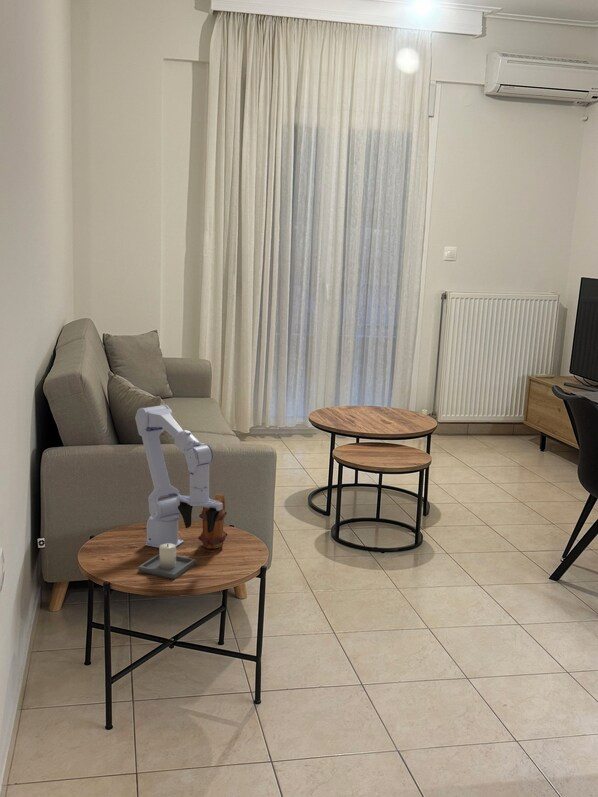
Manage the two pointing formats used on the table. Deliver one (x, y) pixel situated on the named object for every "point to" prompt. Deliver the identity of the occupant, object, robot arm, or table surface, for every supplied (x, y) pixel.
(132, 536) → the table surface
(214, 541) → the mug
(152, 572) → the tray
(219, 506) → the robot arm
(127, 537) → the table surface
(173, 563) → the candle
